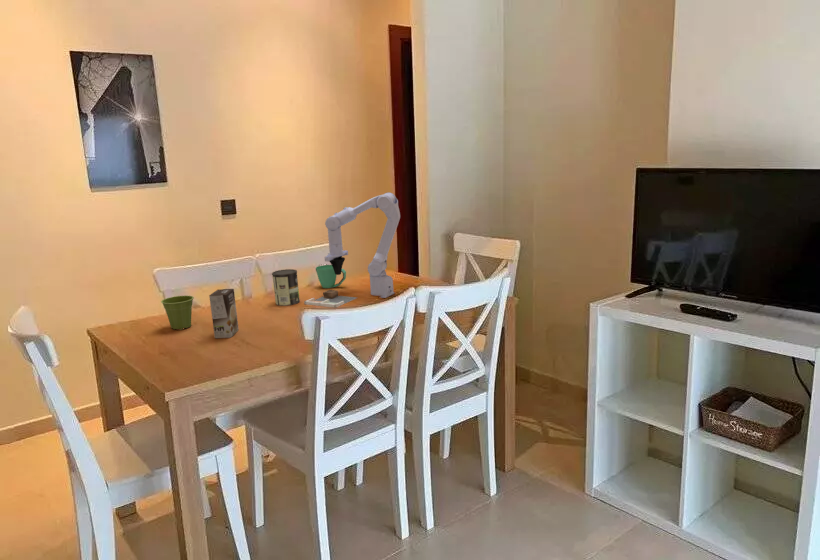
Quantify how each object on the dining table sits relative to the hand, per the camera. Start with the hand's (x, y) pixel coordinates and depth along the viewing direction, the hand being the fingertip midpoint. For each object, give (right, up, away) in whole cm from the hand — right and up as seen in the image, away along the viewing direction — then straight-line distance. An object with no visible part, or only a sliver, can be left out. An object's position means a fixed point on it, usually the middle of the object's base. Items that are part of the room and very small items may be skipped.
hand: (338, 274), depth 278 cm
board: (-2, -12, -9) cm, 15 cm away
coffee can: (-20, -13, -8) cm, 25 cm away
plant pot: (-57, -21, -32) cm, 68 cm away
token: (-3, -10, -3) cm, 11 cm away
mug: (-4, -7, +14) cm, 16 cm away
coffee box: (-36, -22, -44) cm, 61 cm away
